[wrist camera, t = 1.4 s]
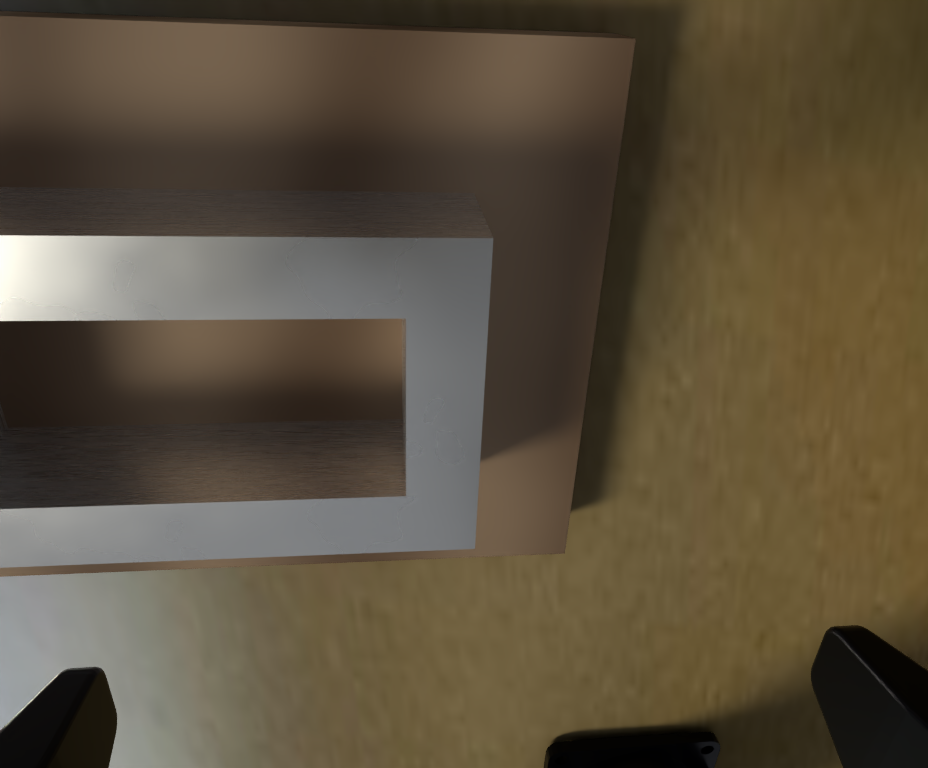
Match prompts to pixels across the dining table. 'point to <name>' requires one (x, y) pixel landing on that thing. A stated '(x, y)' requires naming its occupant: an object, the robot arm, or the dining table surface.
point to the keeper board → (328, 169)
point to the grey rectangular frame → (260, 443)
